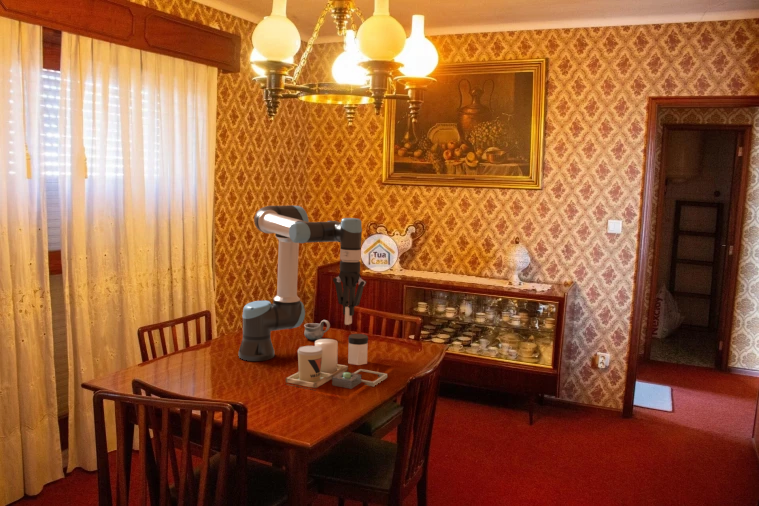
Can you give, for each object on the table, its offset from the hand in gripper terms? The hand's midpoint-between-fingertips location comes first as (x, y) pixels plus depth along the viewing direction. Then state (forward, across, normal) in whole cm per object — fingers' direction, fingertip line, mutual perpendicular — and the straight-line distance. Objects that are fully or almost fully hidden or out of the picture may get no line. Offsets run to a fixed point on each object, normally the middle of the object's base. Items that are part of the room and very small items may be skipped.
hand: (348, 323), depth 224 cm
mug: (+25, -43, +50) cm, 70 cm away
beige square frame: (+24, +3, +11) cm, 26 cm away
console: (+24, 0, 0) cm, 24 cm away
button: (+23, 0, 0) cm, 23 cm away
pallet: (+24, -14, +2) cm, 28 cm away
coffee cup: (+23, -14, -4) cm, 27 cm away
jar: (+24, -9, +26) cm, 37 cm away
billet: (+23, -14, +8) cm, 28 cm away
